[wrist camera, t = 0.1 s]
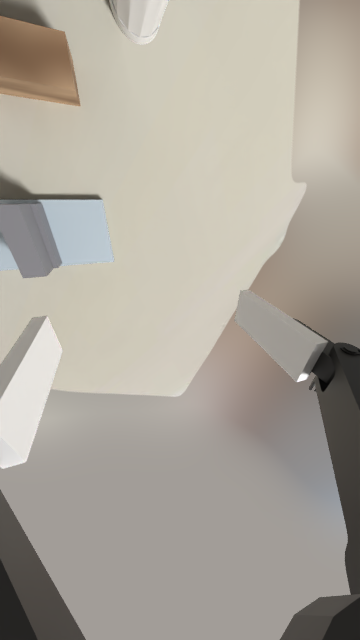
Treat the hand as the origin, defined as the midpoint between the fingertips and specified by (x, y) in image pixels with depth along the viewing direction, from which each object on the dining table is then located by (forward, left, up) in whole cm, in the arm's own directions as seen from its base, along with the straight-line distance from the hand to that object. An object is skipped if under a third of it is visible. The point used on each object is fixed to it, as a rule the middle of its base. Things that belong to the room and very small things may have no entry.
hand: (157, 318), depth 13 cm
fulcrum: (-2, -14, -28) cm, 32 cm away
